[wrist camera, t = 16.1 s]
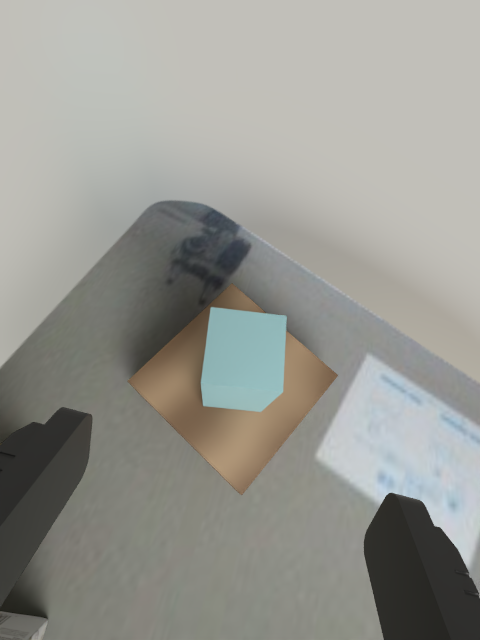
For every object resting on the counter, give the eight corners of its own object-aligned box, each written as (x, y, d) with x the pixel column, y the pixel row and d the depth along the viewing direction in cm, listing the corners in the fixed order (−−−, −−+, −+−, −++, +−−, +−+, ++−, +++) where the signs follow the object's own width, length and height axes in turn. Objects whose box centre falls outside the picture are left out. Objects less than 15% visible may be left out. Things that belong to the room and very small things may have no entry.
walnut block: (319, 386, 34) (338, 375, 30) (235, 489, 30) (241, 495, 26) (227, 305, 36) (231, 283, 32) (137, 392, 32) (127, 380, 28)
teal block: (264, 356, 30) (286, 315, 21) (260, 412, 28) (283, 391, 20) (210, 350, 29) (210, 307, 21) (203, 406, 28) (200, 383, 19)
